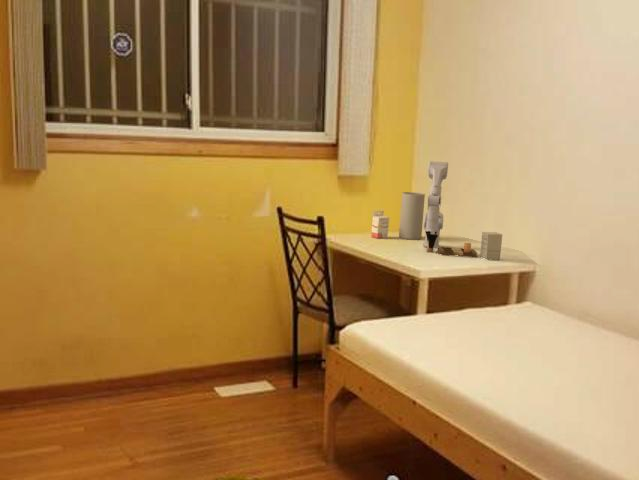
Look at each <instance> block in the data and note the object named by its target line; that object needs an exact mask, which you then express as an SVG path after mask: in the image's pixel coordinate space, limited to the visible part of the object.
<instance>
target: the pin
mask: <svg viewBox="0 0 639 480" xmlns="http://www.w3.org/2000/svg"><path fill="white" fill-rule="evenodd" d="M463 246H464V247H463V249H464V252H468V253H470V251H471V249H472V243H470V242H465V243H464V245H463Z"/></svg>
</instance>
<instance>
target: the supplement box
mask: <svg viewBox="0 0 639 480" xmlns="http://www.w3.org/2000/svg"><path fill="white" fill-rule="evenodd" d="M480 242H481V243H480V255H479V257H480V258H481V257H482V258H481V259H483V258H485V259H500V260H501V256H502V255H501V252H502V244H503V243H502V242H503V234H502V233H500V232H497V231H482V234H481V241H480ZM485 259H484V260H485Z"/></svg>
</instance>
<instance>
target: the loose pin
mask: <svg viewBox="0 0 639 480" xmlns="http://www.w3.org/2000/svg"><path fill="white" fill-rule="evenodd" d="M426 252H427V253H434V247H433V248H429V245H428V243H427V247H426Z"/></svg>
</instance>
